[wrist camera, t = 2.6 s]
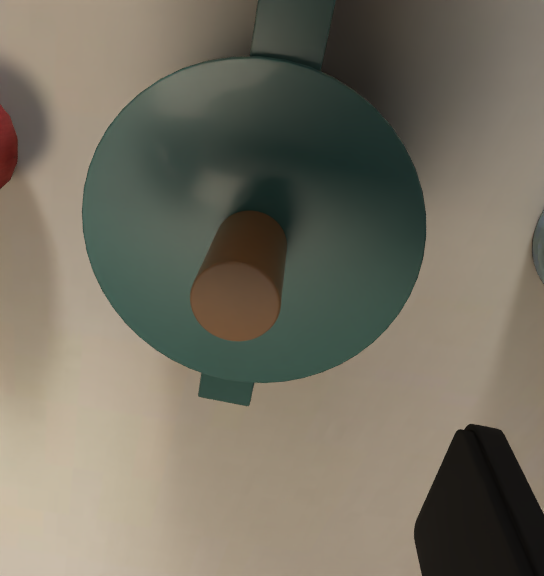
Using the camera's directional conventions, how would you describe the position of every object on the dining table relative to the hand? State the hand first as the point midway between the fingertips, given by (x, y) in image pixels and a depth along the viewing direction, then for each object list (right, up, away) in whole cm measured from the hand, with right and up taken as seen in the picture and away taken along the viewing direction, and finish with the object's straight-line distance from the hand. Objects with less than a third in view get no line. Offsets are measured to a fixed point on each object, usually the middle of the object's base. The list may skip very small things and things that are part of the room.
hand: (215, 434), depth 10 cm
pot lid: (0, +5, +9) cm, 10 cm away
